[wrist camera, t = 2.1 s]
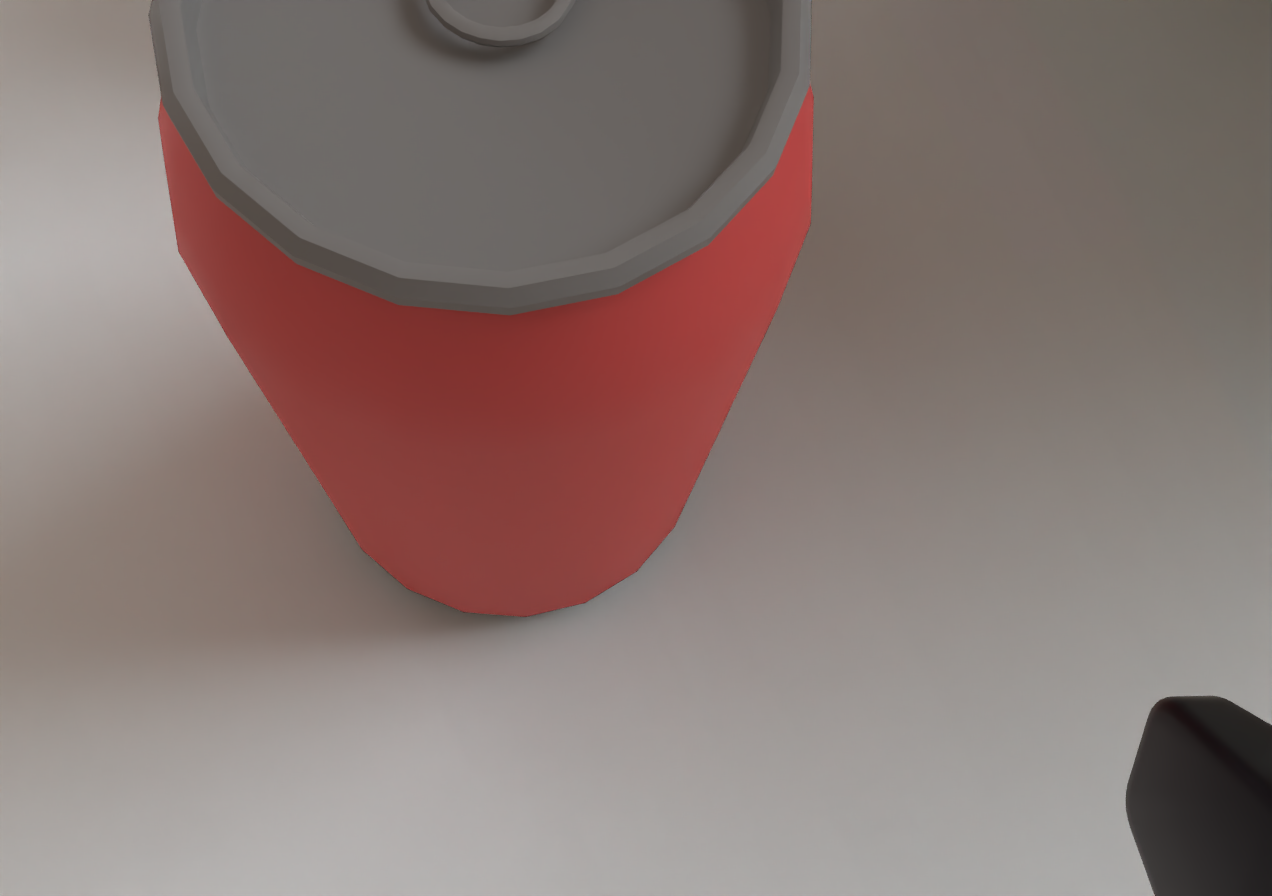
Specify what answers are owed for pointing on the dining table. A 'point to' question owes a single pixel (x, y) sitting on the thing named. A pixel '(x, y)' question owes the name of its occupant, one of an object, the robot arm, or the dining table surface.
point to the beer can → (493, 257)
